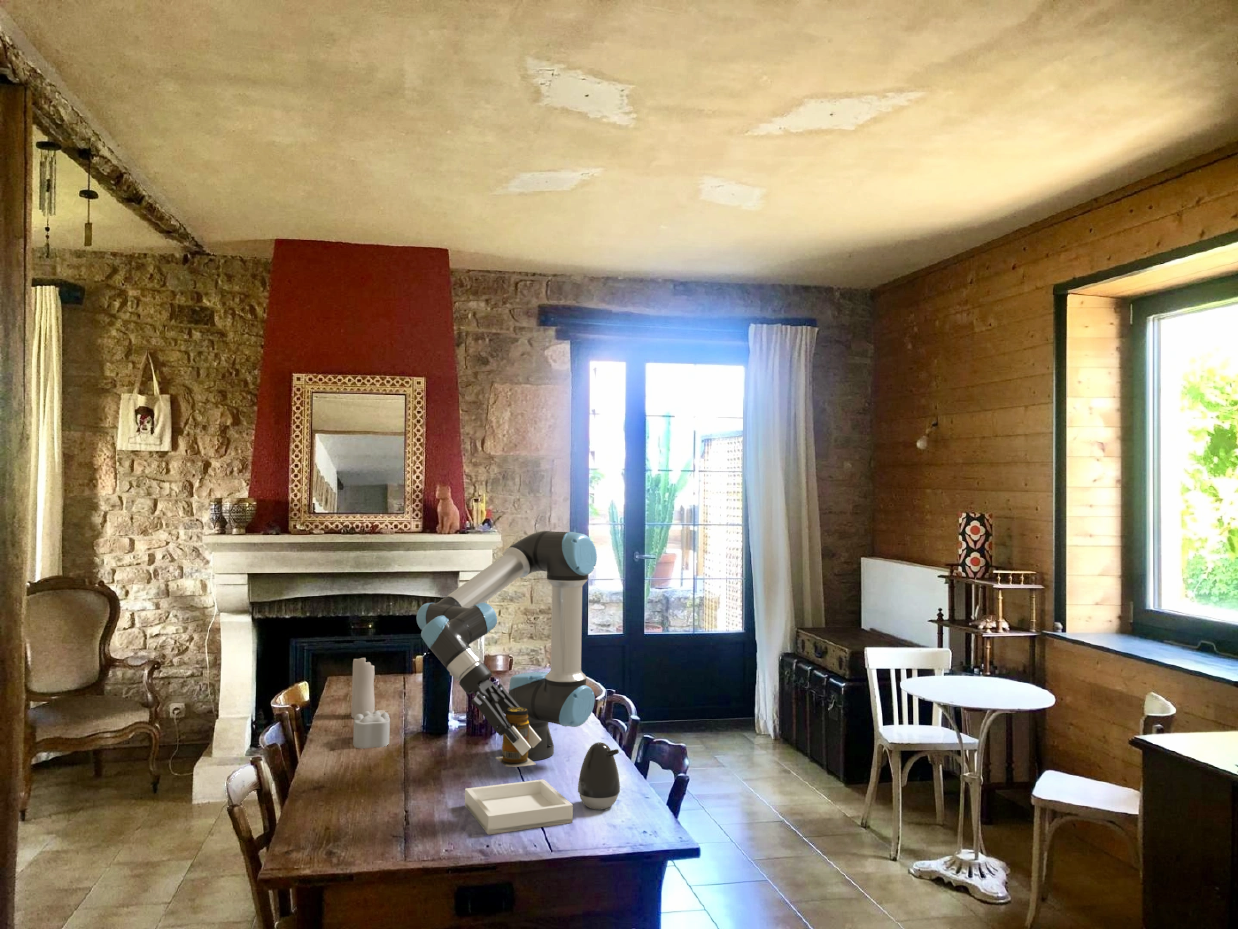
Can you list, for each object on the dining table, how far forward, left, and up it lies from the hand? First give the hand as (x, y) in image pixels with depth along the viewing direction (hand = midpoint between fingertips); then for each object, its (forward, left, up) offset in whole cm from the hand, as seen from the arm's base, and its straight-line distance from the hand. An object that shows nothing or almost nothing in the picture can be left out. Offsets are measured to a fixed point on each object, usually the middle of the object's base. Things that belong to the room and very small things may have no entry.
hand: (532, 747), depth 209 cm
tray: (+2, -3, -16) cm, 16 cm away
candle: (+19, -111, -16) cm, 113 cm away
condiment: (+3, -2, -4) cm, 5 cm away
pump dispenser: (-18, -1, -16) cm, 24 cm away
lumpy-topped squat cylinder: (+24, -77, -16) cm, 82 cm away
